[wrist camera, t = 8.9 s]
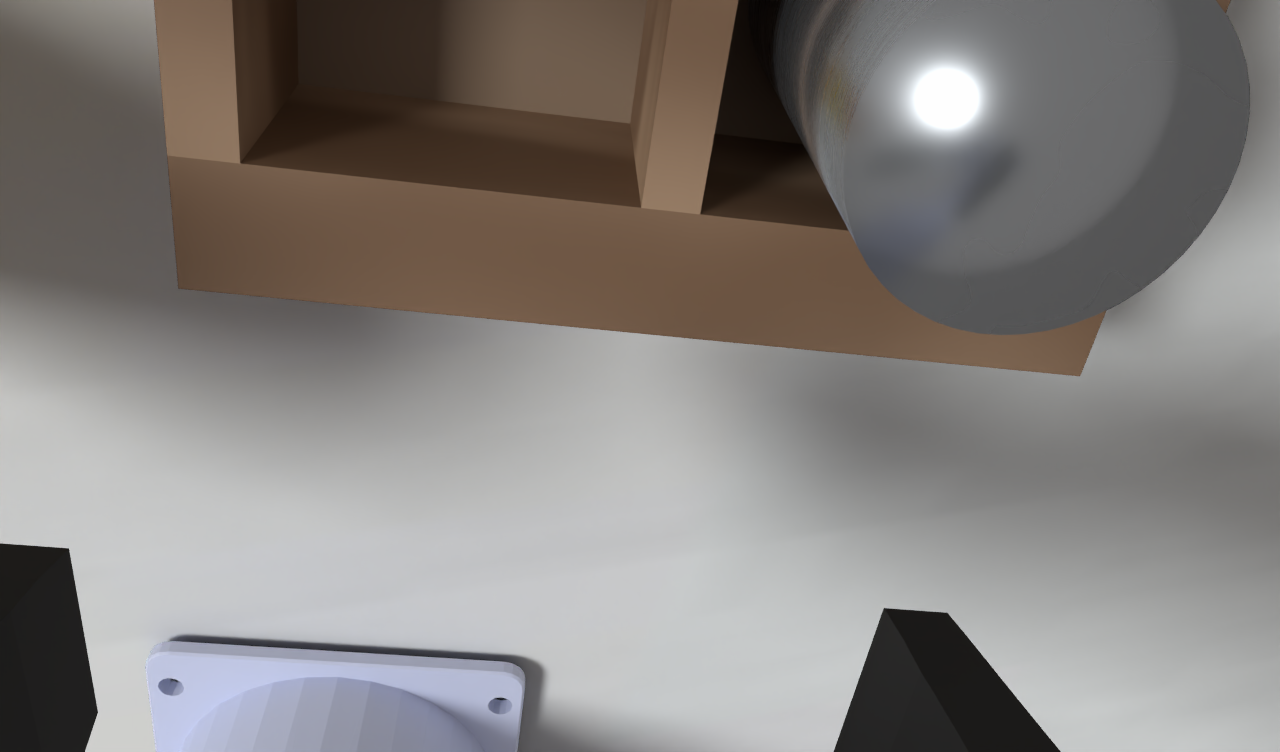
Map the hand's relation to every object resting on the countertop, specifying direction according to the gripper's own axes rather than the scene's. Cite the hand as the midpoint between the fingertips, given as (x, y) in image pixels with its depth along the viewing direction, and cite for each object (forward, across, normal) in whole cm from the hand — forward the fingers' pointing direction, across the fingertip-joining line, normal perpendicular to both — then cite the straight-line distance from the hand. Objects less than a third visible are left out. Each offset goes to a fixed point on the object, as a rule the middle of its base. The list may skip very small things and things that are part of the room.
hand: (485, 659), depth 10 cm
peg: (+10, -5, -4) cm, 12 cm away
